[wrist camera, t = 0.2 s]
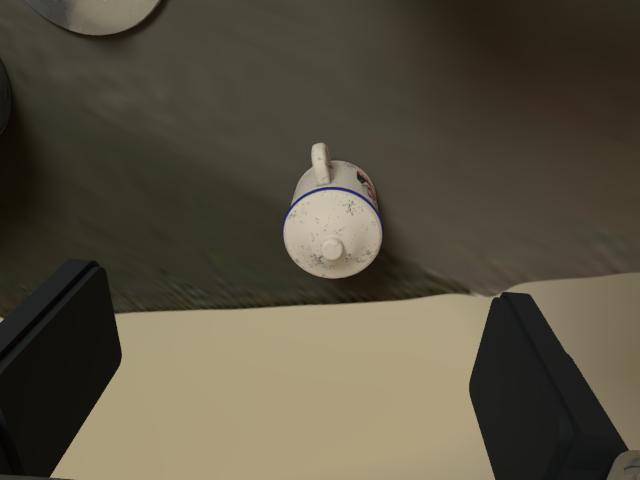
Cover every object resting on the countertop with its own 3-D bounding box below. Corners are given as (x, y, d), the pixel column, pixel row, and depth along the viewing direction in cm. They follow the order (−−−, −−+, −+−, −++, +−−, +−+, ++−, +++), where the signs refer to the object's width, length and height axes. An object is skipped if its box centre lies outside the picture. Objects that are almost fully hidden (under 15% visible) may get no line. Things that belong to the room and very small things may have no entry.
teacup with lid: (384, 229, 50) (393, 288, 40) (303, 242, 51) (291, 303, 41) (366, 120, 45) (371, 157, 34) (276, 138, 46) (255, 178, 36)
